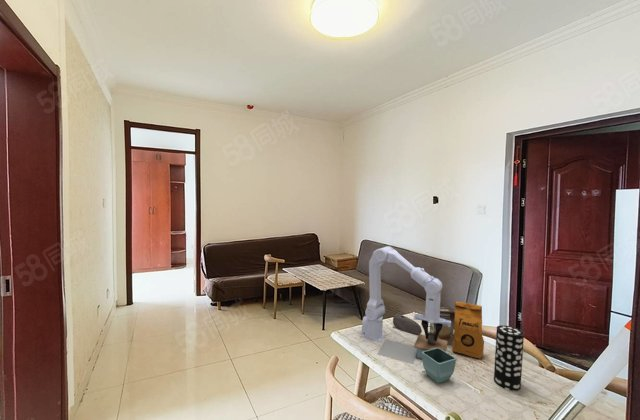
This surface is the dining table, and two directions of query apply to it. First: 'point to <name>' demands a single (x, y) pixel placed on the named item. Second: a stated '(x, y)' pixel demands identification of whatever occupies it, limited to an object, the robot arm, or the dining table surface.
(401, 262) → the robot arm
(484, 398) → the dining table surface
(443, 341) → the lid
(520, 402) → the dining table surface
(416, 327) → the perforated stone tool
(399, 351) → the mat
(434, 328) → the coffee box
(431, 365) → the flower pot
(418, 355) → the dish
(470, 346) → the coffee package
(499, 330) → the white-spotted black cylinder
